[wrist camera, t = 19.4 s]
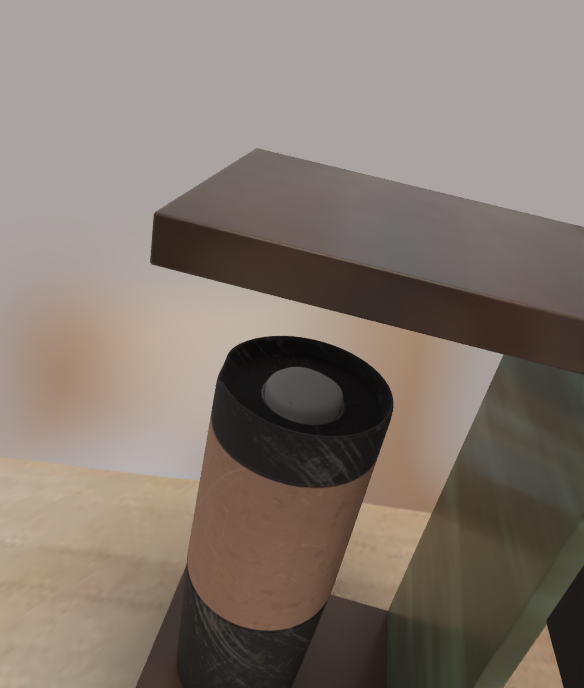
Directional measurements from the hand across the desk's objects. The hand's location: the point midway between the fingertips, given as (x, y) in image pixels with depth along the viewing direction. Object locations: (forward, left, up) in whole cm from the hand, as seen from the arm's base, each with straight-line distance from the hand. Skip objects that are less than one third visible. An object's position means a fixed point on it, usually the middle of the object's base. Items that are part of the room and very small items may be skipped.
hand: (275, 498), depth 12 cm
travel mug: (0, -11, -24) cm, 26 cm away
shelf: (-3, -11, -26) cm, 28 cm away
